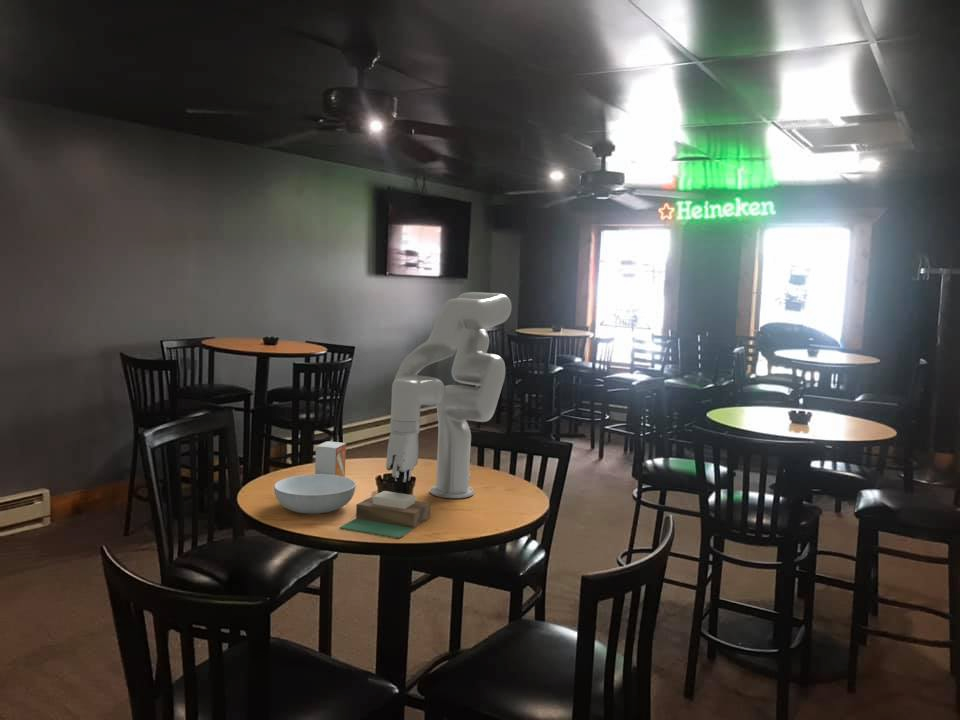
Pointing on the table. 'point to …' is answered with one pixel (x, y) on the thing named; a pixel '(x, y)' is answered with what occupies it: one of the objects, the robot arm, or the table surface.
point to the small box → (330, 458)
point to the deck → (393, 513)
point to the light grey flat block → (394, 499)
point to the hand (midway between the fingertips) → (402, 495)
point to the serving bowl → (314, 493)
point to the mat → (376, 528)
